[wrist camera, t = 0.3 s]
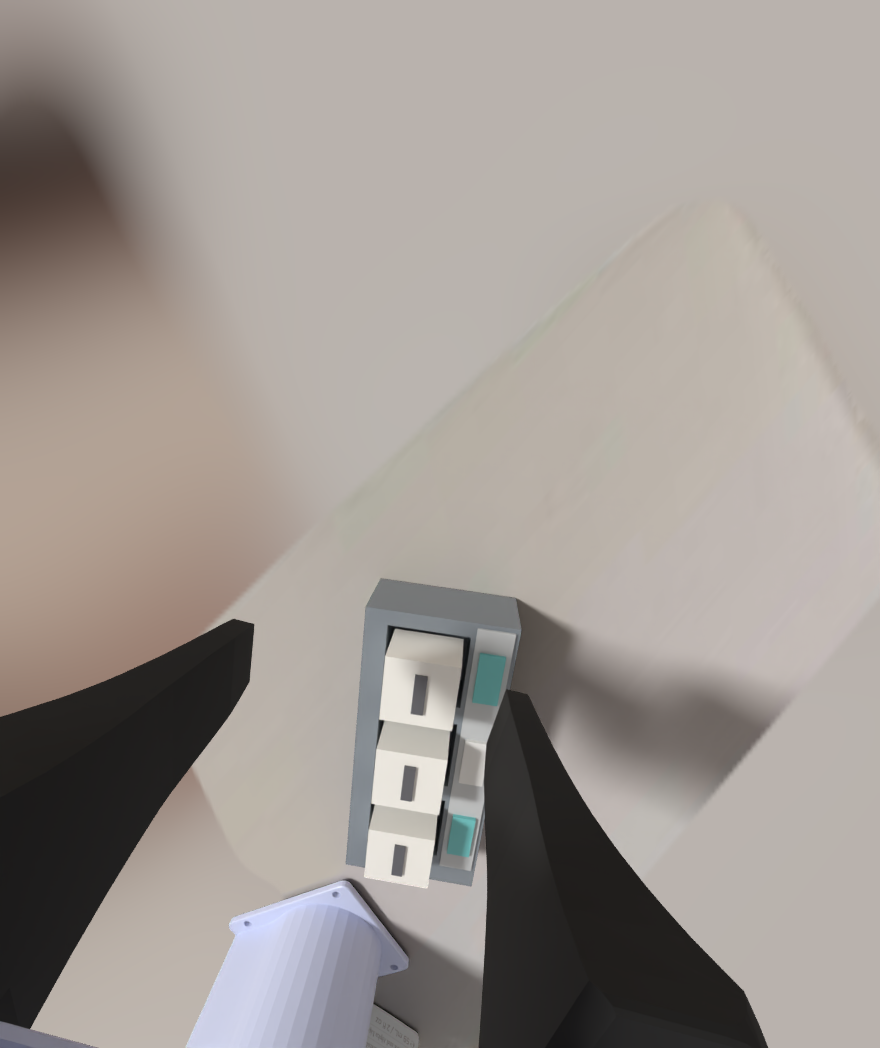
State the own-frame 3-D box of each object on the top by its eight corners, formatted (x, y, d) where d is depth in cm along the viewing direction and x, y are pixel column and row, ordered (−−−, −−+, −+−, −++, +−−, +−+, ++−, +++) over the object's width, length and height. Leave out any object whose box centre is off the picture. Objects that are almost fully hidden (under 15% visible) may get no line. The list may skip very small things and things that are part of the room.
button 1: (431, 844, 22) (427, 890, 20) (374, 834, 23) (363, 879, 20) (438, 799, 22) (434, 842, 19) (378, 789, 22) (368, 831, 20)
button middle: (442, 775, 21) (438, 817, 19) (381, 765, 21) (370, 805, 19) (450, 724, 20) (447, 762, 18) (386, 713, 20) (376, 750, 18)
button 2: (454, 697, 20) (451, 733, 18) (389, 686, 20) (378, 721, 18) (463, 638, 19) (461, 669, 17) (395, 628, 19) (384, 657, 17)
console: (472, 831, 25) (471, 892, 22) (360, 811, 26) (344, 869, 23) (515, 598, 21) (522, 633, 18) (380, 578, 21) (364, 609, 18)
